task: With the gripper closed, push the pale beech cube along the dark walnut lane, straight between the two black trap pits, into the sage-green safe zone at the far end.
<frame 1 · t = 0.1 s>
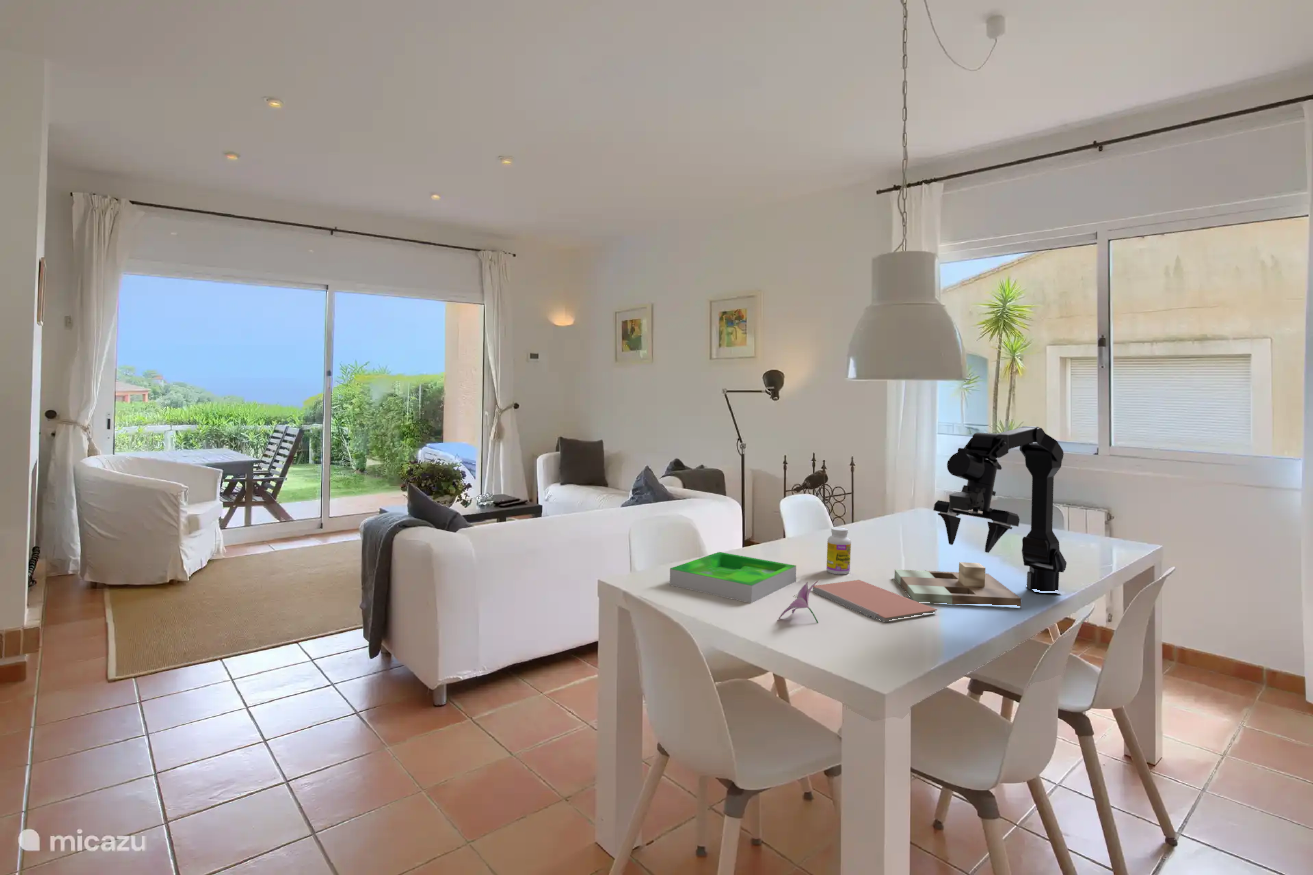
hand: (968, 548, 160), 15 cm above the table, tool pointing down, fingers open, 9 cm apart
supplement bottle: (838, 572, 196), on the table
trap deck: (954, 592, 177), on the table
lily: (800, 620, 154), on the table
notebook: (869, 604, 168), on the table
block: (971, 583, 176), point 2 cm above the table, touching trap deck
tray: (733, 585, 183), on the table
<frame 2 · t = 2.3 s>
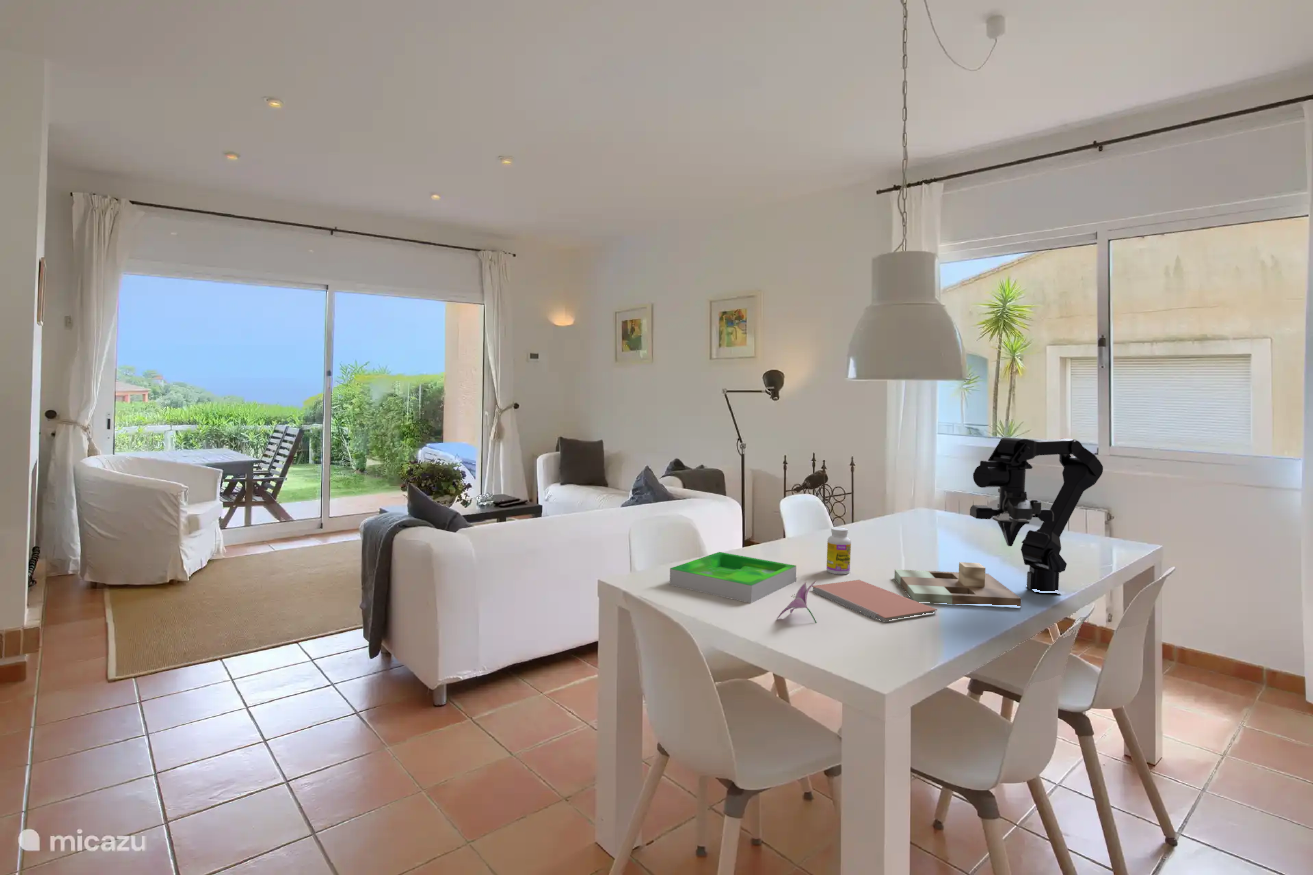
hand: (1009, 545, 174), 13 cm above the table, tool pointing down, fingers closed
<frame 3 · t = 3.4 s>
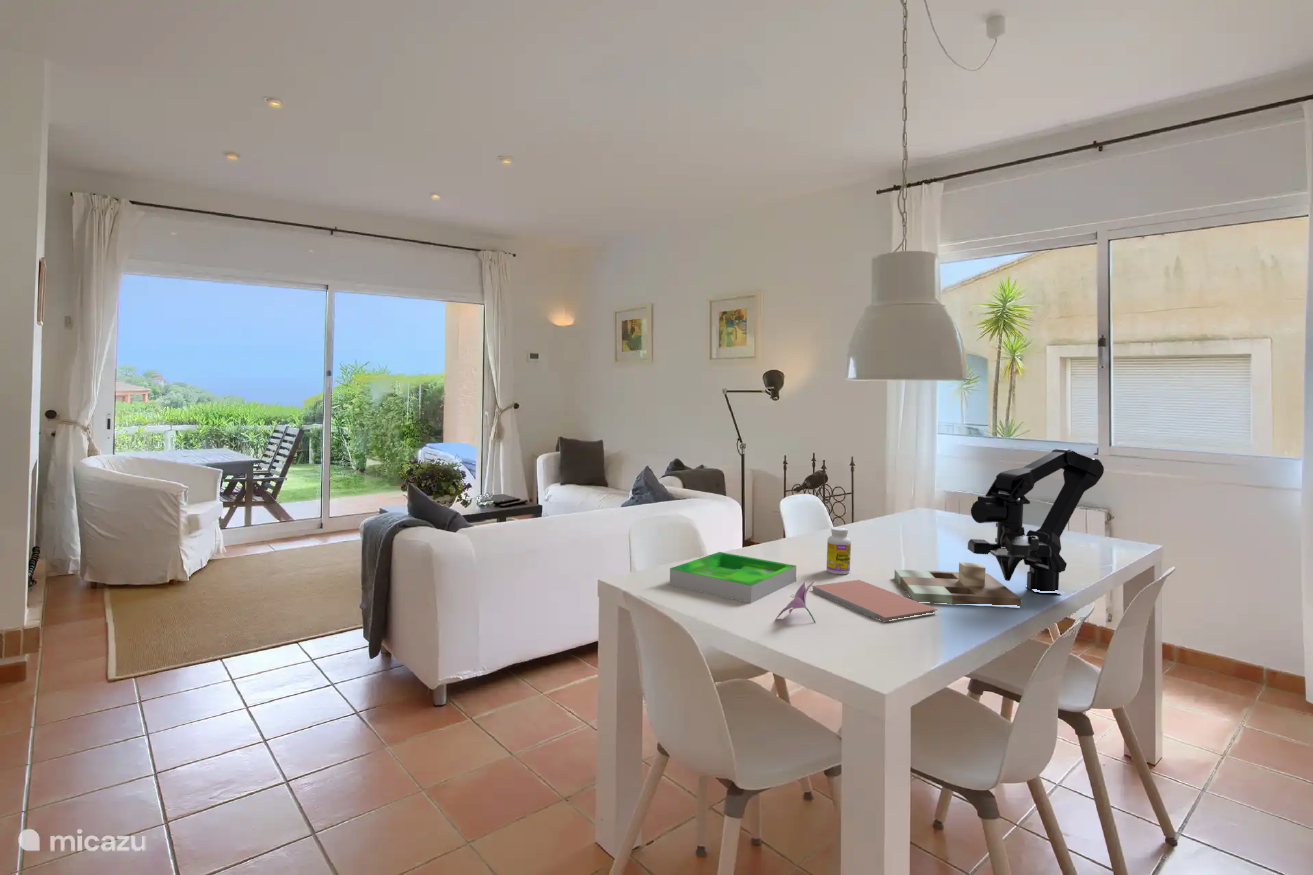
hand: (1007, 580, 175), 4 cm above the table, tool pointing down, fingers closed
nothing on the table moved.
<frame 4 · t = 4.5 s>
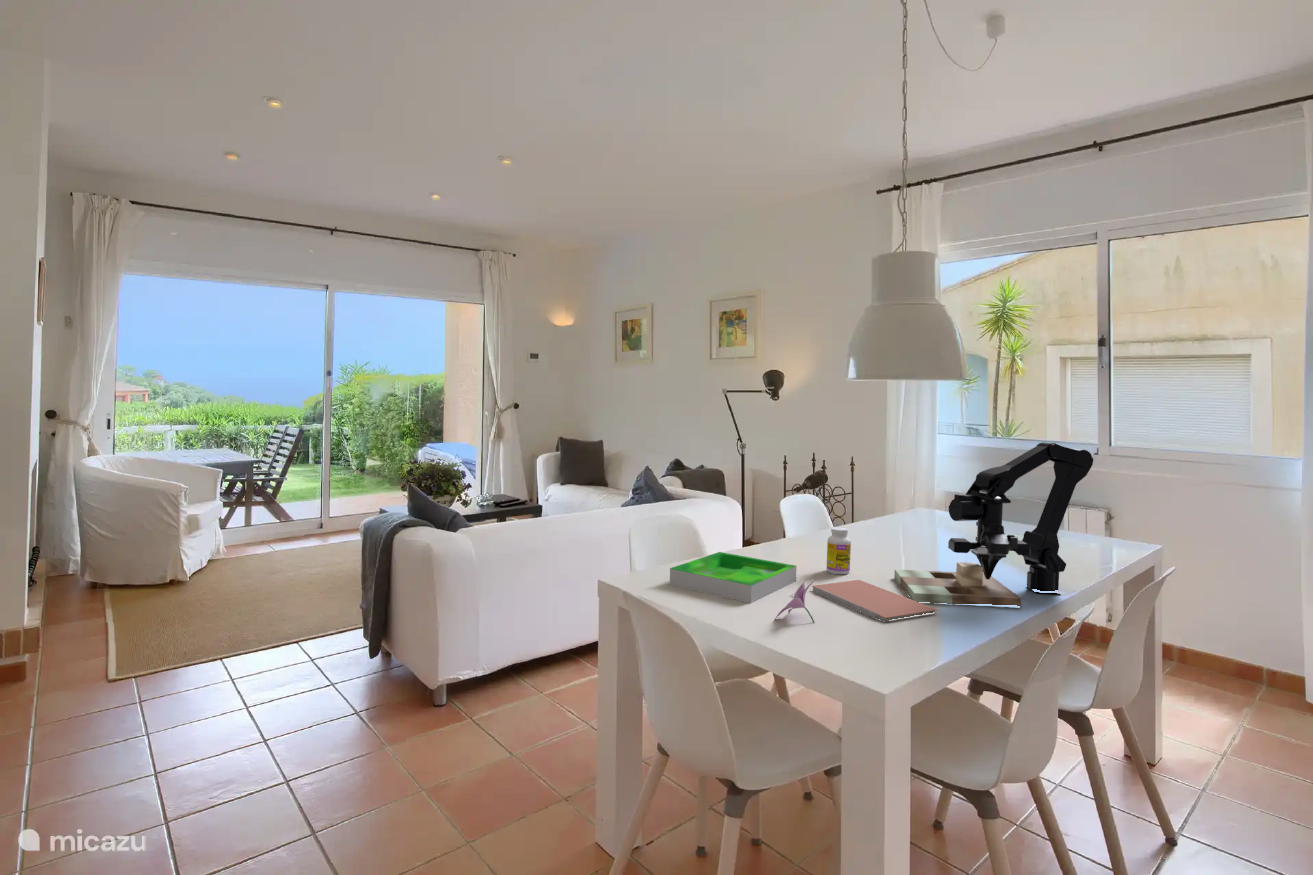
hand: (987, 579, 175), 4 cm above the table, tool pointing down, fingers closed
block: (968, 583, 176), point 3 cm above the table, touching gripper
everything else where it was.
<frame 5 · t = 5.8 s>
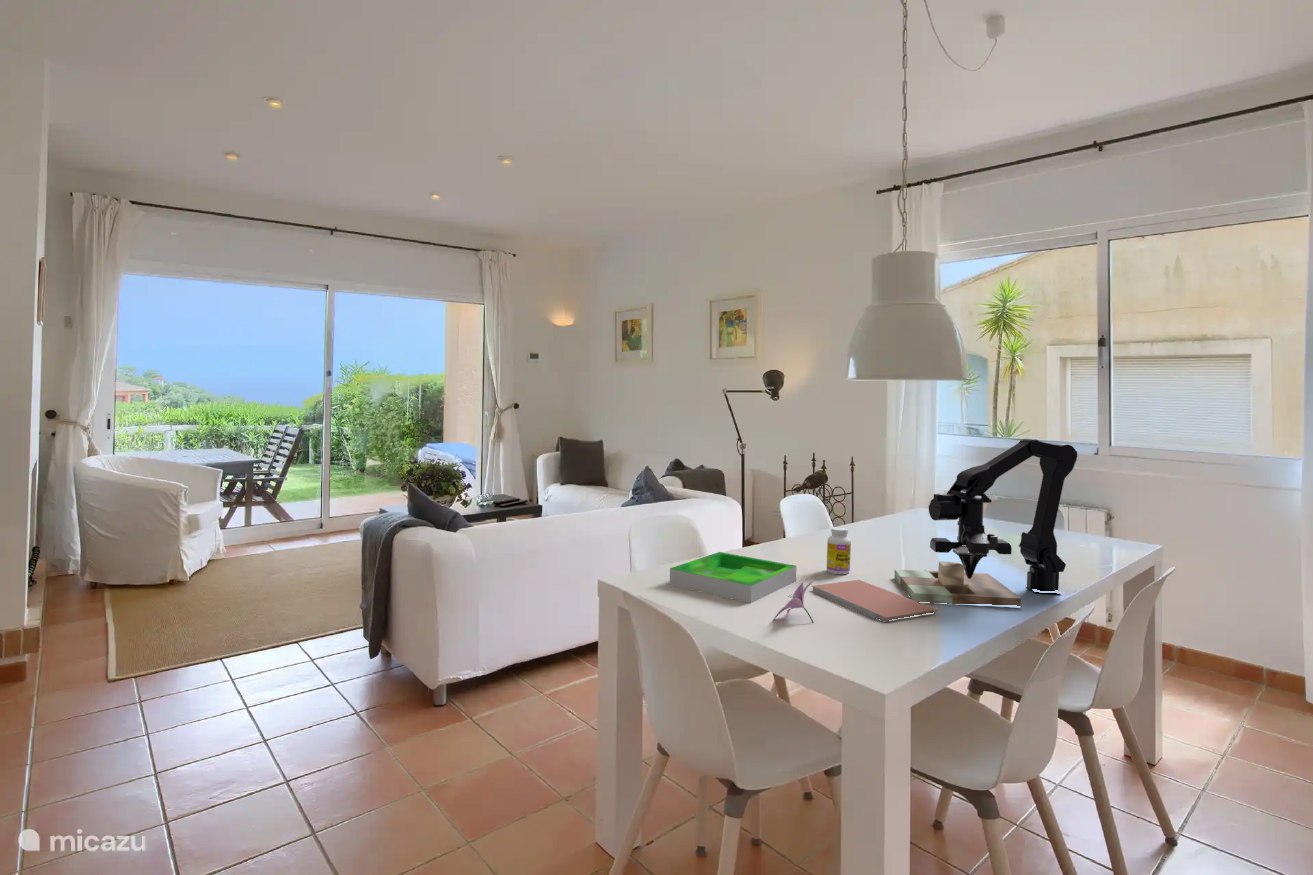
hand: (969, 578, 176), 4 cm above the table, tool pointing down, fingers closed
block: (950, 582, 177), point 3 cm above the table, touching gripper
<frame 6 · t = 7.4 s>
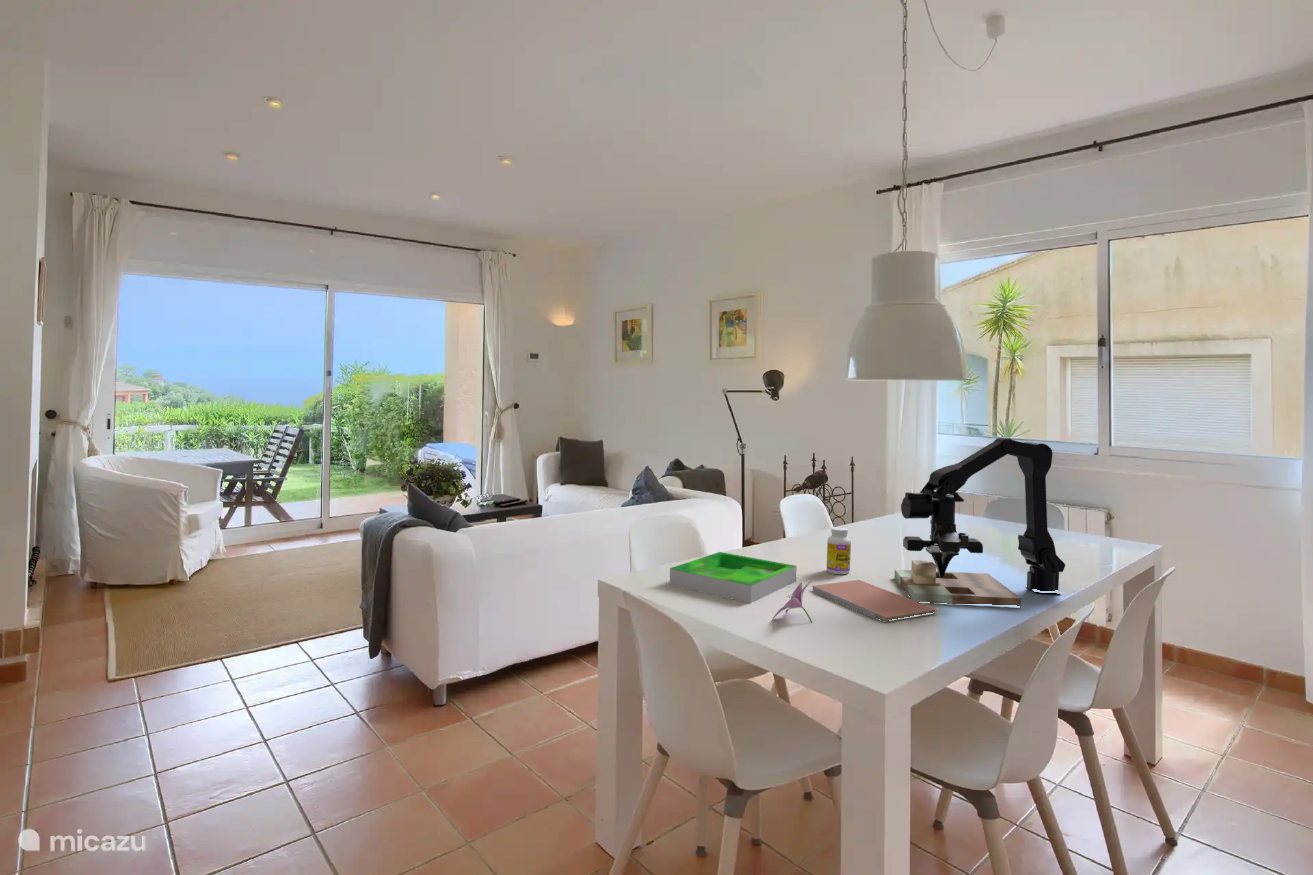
hand: (941, 576, 177), 4 cm above the table, tool pointing down, fingers closed
block: (923, 581, 178), point 2 cm above the table, touching gripper, trap deck
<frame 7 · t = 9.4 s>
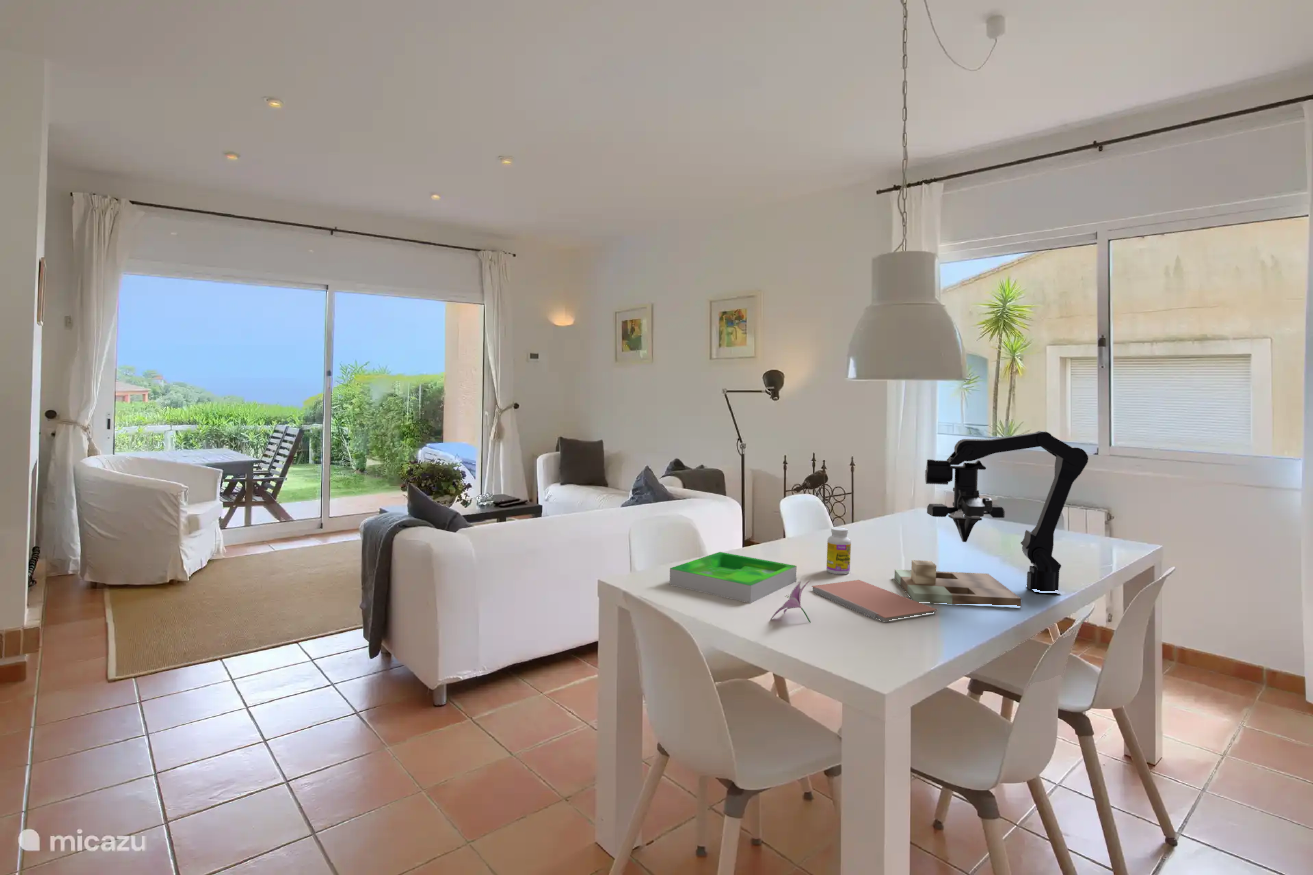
hand: (964, 541, 184), 12 cm above the table, tool pointing down, fingers closed
block: (923, 581, 178), point 2 cm above the table, touching trap deck
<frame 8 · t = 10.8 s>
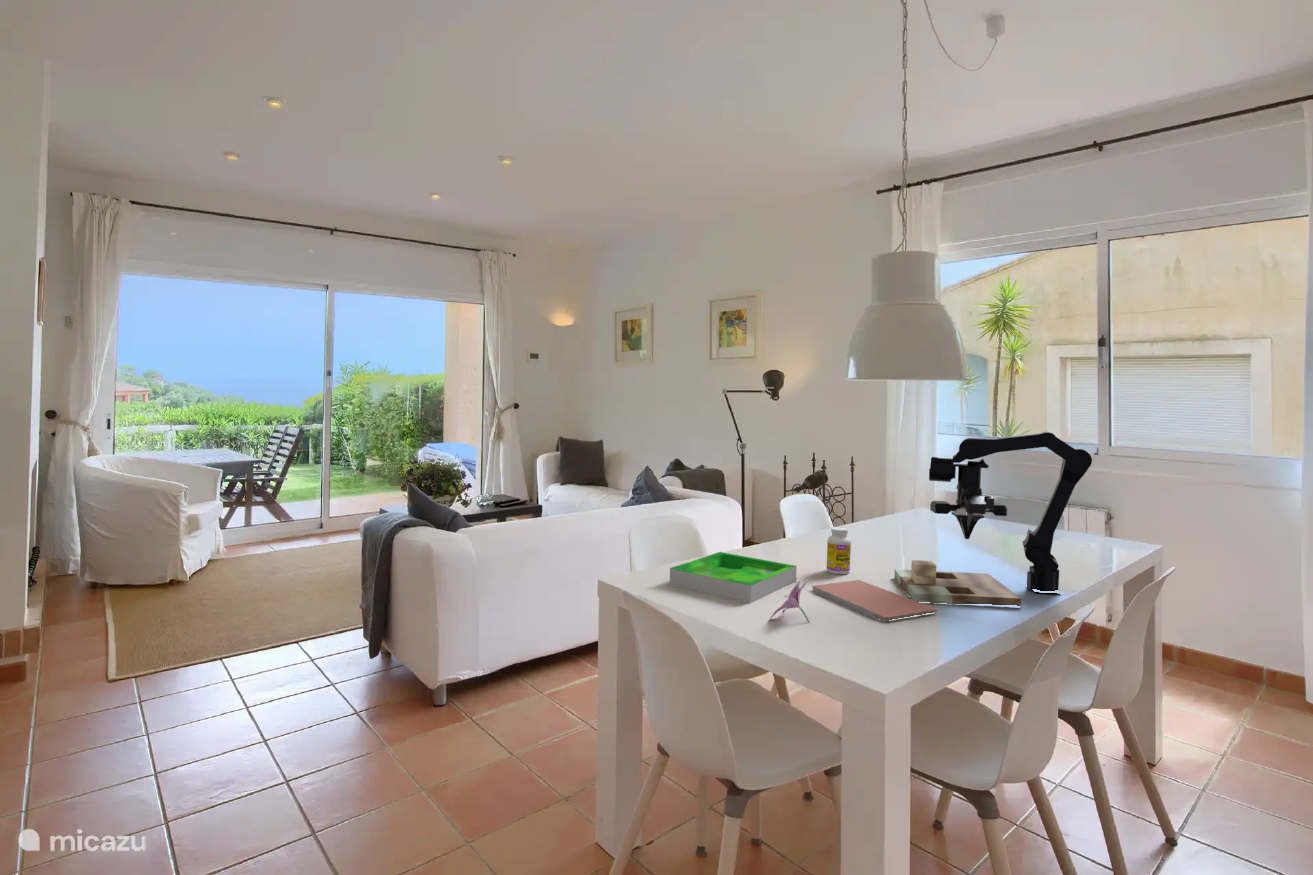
hand: (966, 538, 187), 12 cm above the table, tool pointing down, fingers closed
at the end: block 0.9 cm from the target spot, point 2.5 cm above the table; block tilted 0° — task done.
